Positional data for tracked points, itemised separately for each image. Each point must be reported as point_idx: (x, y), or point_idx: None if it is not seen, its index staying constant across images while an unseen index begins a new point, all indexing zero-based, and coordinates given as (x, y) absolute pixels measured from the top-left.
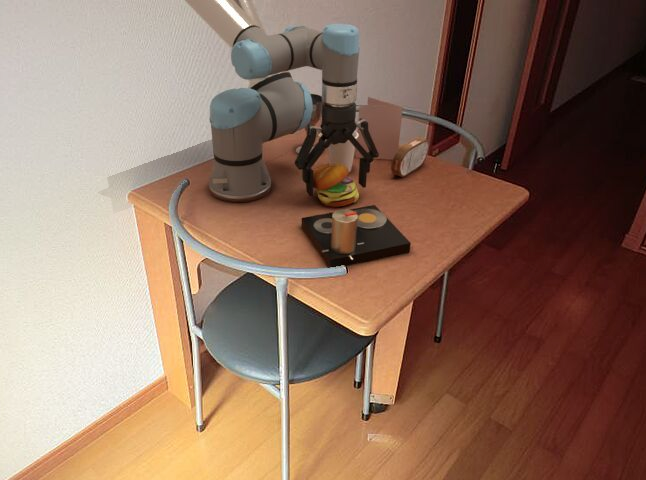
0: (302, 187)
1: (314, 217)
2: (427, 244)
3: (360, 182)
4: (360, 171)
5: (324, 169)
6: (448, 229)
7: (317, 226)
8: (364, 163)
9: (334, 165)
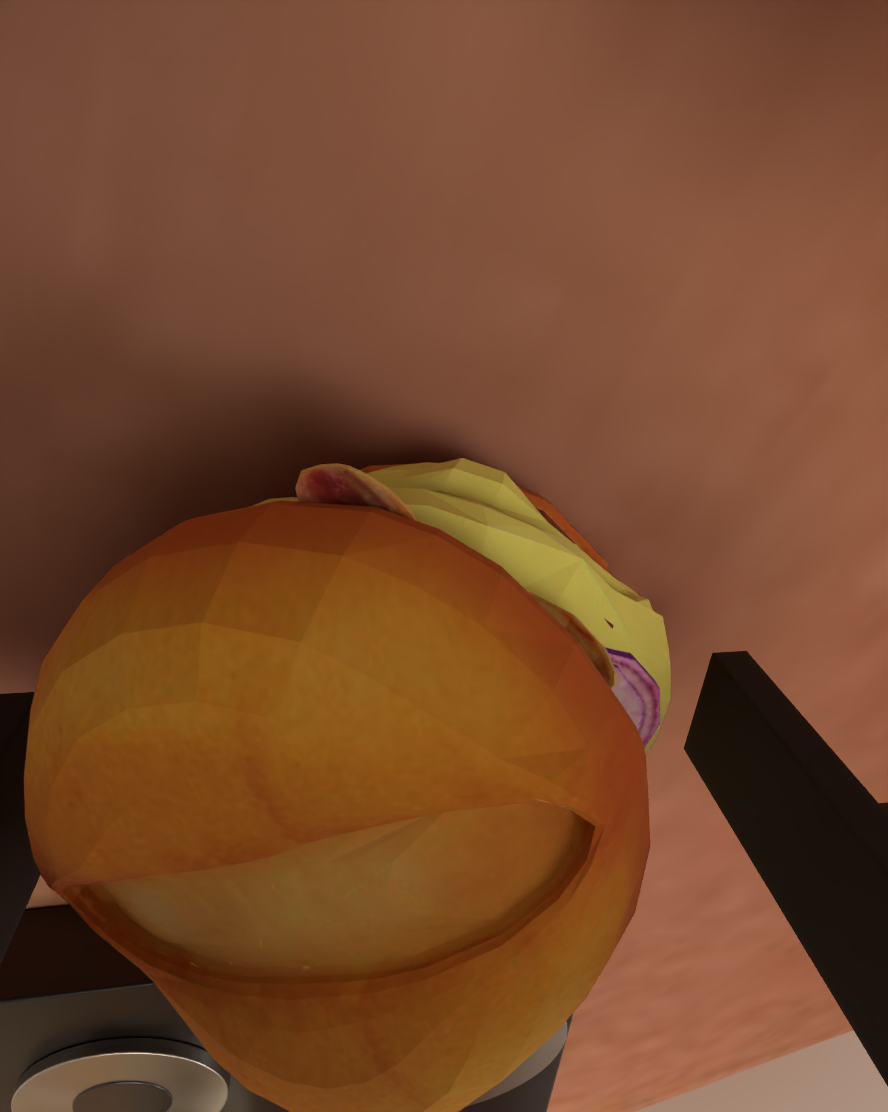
0: (49, 210)
1: (40, 1016)
2: (636, 1053)
3: (714, 720)
4: (801, 822)
5: (243, 859)
6: (816, 988)
7: (40, 1110)
8: (885, 1079)
9: (401, 1061)
